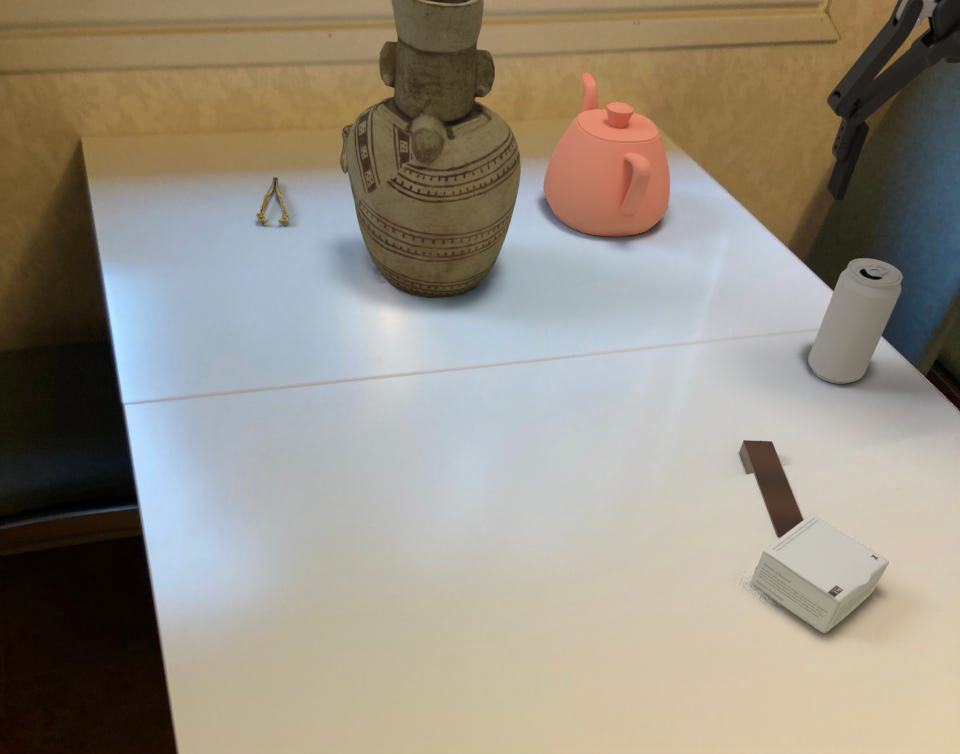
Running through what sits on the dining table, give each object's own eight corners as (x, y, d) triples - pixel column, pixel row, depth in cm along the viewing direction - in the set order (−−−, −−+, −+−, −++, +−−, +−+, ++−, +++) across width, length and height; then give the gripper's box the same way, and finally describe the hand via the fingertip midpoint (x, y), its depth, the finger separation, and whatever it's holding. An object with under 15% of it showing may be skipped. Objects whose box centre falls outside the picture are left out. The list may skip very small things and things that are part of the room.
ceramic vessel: (397, 216, 122) (399, -63, 99) (537, 267, 116) (573, -19, 93) (307, 272, 111) (286, -28, 88) (456, 332, 105) (475, 25, 82)
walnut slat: (804, 548, 85) (810, 536, 84) (773, 547, 85) (778, 535, 84) (767, 452, 94) (772, 440, 93) (739, 451, 94) (743, 439, 93)
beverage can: (794, 367, 105) (832, 266, 96) (826, 349, 108) (865, 249, 99) (842, 394, 102) (885, 292, 93) (873, 375, 105) (918, 274, 96)
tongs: (285, 182, 126) (283, 167, 125) (291, 231, 118) (290, 216, 117) (253, 183, 125) (251, 167, 124) (257, 232, 118) (256, 216, 116)
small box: (794, 553, 84) (814, 510, 81) (868, 602, 81) (893, 560, 77) (743, 591, 81) (761, 549, 77) (819, 645, 77) (841, 603, 73)
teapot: (518, 171, 134) (528, 68, 124) (626, 169, 138) (645, 67, 127) (569, 255, 118) (586, 144, 108) (690, 250, 122) (717, 142, 112)
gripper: (1135, -70, 78) (1007, 188, 94) (849, -96, 75) (768, 173, 91) (1184, -45, 73) (1039, 223, 89) (880, -72, 71) (788, 208, 87)
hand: (901, 198), depth 90 cm, fingers open, 13 cm apart
